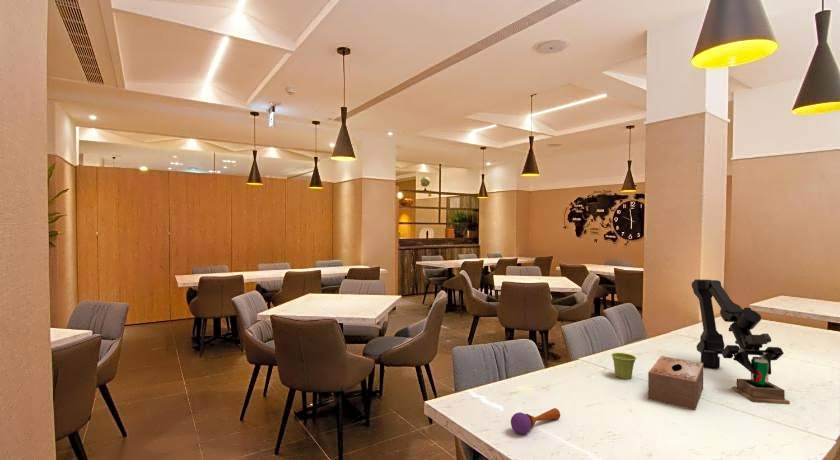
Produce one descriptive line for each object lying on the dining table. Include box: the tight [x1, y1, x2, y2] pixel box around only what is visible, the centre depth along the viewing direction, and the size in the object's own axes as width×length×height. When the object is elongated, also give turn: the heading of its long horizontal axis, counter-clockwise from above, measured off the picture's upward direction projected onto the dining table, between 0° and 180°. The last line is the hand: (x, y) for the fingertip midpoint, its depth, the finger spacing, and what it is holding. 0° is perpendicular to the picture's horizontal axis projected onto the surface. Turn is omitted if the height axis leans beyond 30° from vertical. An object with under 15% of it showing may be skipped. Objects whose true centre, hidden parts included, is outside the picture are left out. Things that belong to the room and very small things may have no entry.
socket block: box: [731, 378, 791, 405], centre depth 154 cm, size 12×12×4 cm
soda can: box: [750, 356, 770, 388], centre depth 154 cm, size 5×5×12 cm
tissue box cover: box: [647, 355, 704, 411], centre depth 156 cm, size 26×14×10 cm, turn 141°
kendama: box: [510, 407, 561, 435], centre depth 130 cm, size 6×6×20 cm
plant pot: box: [611, 352, 637, 380], centre depth 174 cm, size 9×9×9 cm
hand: (762, 373), depth 153 cm, fingers closed on soda can, 5 cm apart
